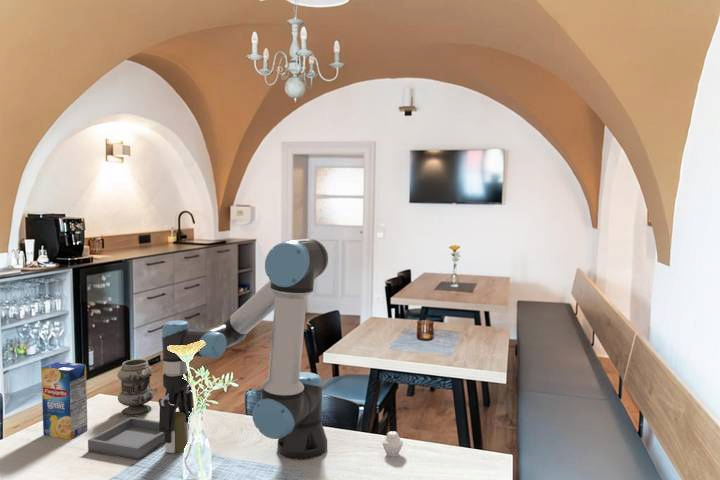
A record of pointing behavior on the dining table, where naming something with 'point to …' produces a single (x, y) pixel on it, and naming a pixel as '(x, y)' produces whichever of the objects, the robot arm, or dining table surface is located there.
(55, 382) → the beverage box
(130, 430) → the box
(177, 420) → the olive pawn figure
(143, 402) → the stone urn vase
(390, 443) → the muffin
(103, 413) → the dining table surface
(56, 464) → the dining table surface
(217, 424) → the dining table surface
